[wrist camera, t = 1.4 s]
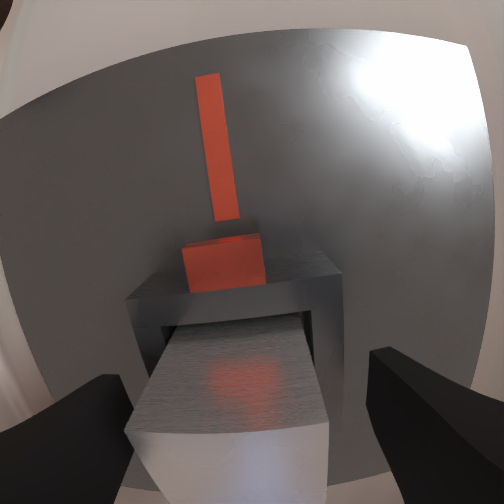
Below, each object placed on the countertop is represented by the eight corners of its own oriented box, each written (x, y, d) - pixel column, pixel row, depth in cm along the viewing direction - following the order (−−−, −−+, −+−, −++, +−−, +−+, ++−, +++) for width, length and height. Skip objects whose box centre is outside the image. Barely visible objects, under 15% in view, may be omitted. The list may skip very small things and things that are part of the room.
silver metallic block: (301, 376, 11) (327, 512, 5) (208, 385, 11) (178, 518, 5) (293, 289, 10) (332, 419, 4) (187, 302, 11) (120, 428, 4)
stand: (441, 440, 14) (462, 475, 10) (113, 473, 15) (97, 509, 12) (455, 52, 9) (499, 28, 6) (-1, 129, 10) (-50, 125, 7)
